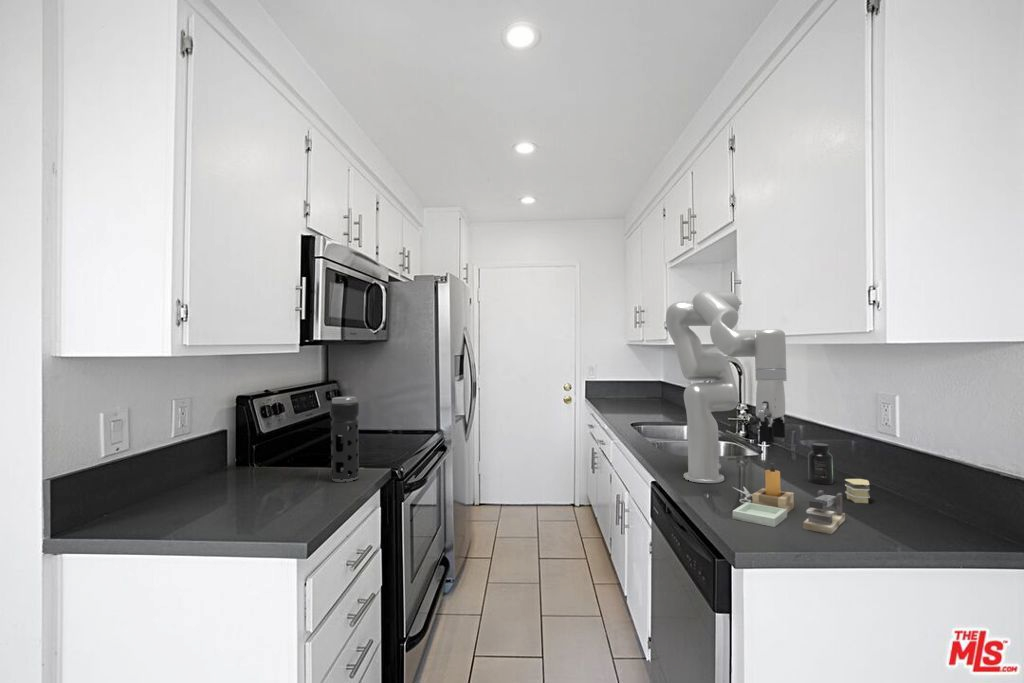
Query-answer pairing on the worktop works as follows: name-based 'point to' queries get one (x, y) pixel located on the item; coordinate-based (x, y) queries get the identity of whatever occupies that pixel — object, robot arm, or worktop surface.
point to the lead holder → (774, 499)
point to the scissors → (745, 494)
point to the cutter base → (825, 527)
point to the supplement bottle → (820, 464)
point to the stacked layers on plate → (858, 490)
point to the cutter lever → (822, 501)
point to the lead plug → (772, 481)
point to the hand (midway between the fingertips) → (772, 439)
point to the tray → (760, 514)
